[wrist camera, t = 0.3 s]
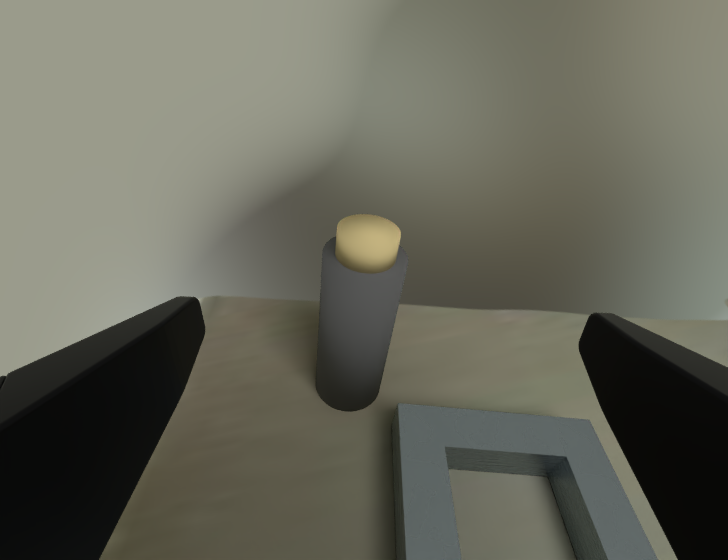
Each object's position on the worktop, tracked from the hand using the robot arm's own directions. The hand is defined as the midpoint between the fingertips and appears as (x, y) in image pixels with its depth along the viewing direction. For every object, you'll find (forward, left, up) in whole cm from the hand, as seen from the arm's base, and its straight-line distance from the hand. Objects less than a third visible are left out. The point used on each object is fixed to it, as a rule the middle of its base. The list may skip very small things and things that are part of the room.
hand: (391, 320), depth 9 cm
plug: (+10, 0, -16) cm, 19 cm away
